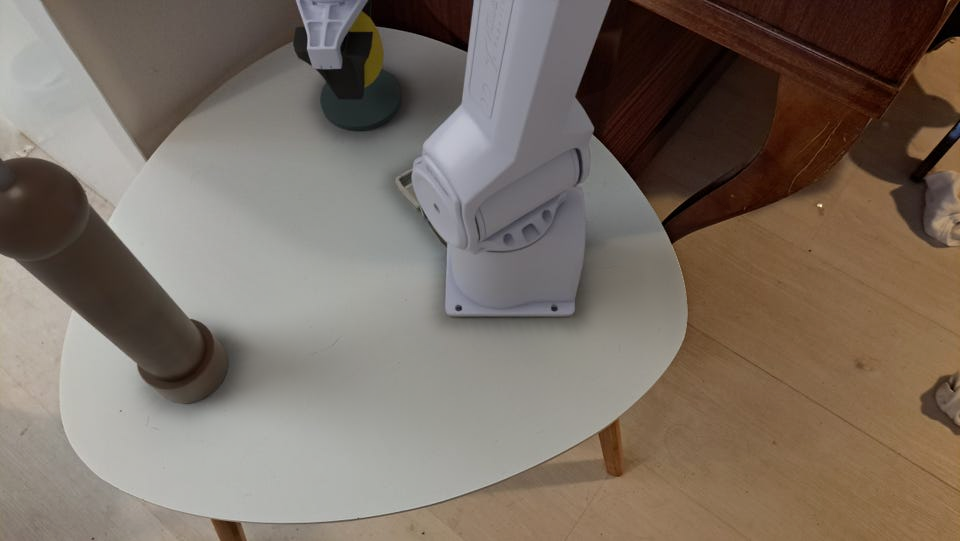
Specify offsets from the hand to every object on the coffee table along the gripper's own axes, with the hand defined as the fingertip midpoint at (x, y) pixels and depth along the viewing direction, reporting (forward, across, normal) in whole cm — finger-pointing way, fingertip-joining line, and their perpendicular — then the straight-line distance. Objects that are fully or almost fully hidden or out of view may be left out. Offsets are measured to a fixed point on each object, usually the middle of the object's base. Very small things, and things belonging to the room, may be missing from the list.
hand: (354, 67), depth 60 cm
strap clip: (+4, +12, +7) cm, 14 cm away
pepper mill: (+4, +25, -10) cm, 27 cm away
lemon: (+2, 0, 0) cm, 2 cm away
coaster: (+4, 0, 0) cm, 4 cm away
